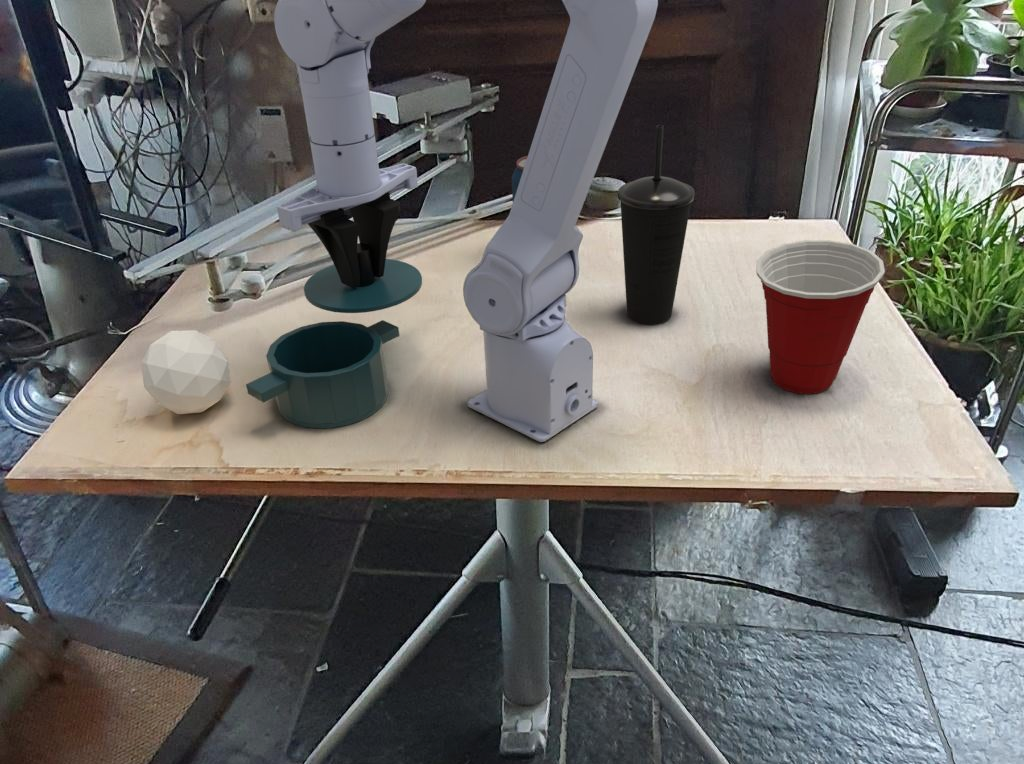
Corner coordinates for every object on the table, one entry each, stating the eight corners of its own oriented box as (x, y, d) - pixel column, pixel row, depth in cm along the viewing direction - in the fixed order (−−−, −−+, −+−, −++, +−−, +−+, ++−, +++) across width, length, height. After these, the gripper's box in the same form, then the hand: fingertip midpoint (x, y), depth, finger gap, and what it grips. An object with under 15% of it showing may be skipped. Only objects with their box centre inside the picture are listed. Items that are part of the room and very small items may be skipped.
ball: (181, 437, 86) (110, 384, 82) (224, 374, 89) (158, 321, 85) (216, 426, 80) (141, 369, 76) (261, 360, 84) (192, 302, 80)
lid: (446, 288, 87) (442, 244, 84) (354, 331, 81) (347, 284, 78) (373, 258, 94) (367, 216, 91) (282, 296, 87) (273, 251, 84)
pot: (430, 382, 87) (425, 332, 84) (297, 455, 78) (286, 402, 75) (363, 349, 93) (356, 301, 90) (232, 413, 84) (219, 362, 80)
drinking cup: (665, 294, 101) (677, 111, 89) (697, 323, 95) (715, 131, 83) (602, 305, 99) (607, 120, 87) (631, 336, 93) (640, 142, 81)
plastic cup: (719, 364, 88) (732, 249, 81) (813, 342, 90) (833, 230, 84) (783, 420, 79) (803, 297, 72) (884, 395, 82) (913, 274, 75)
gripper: (377, 110, 85) (393, 245, 93) (246, 148, 77) (276, 293, 84) (426, 123, 81) (439, 263, 89) (294, 164, 72) (321, 314, 80)
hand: (363, 279), depth 86 cm, fingers closed on lid, 2 cm apart
